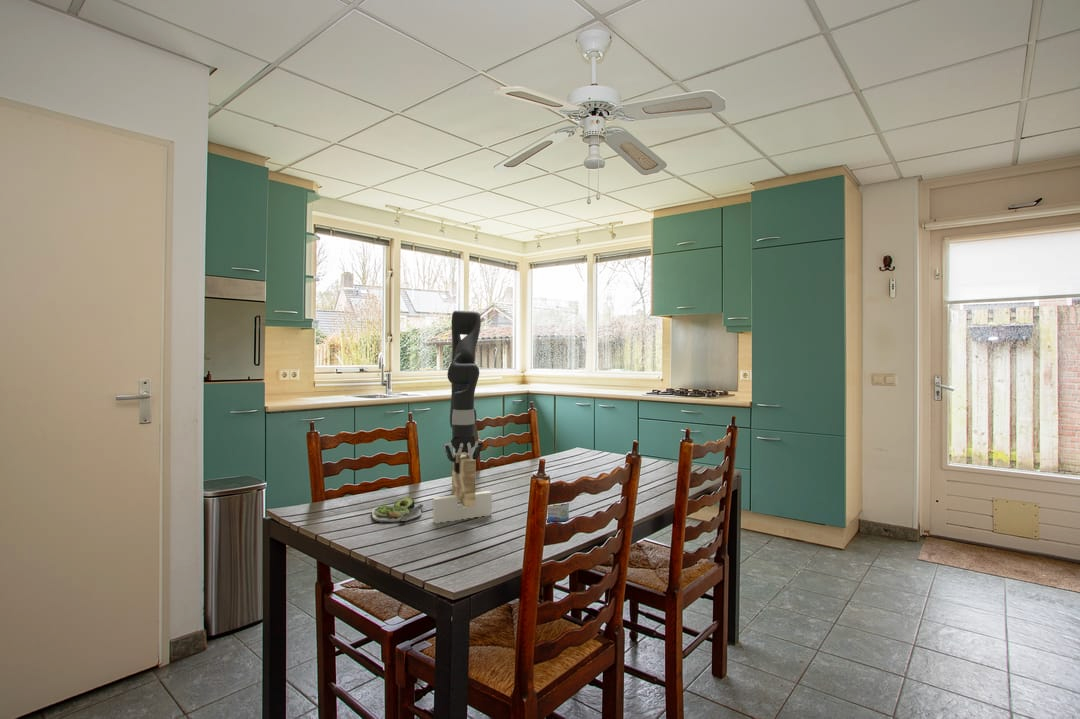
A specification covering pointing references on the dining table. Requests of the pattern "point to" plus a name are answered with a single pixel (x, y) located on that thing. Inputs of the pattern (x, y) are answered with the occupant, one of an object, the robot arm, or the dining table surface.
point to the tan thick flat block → (464, 481)
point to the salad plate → (398, 511)
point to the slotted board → (461, 507)
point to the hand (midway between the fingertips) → (463, 472)
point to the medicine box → (558, 513)
